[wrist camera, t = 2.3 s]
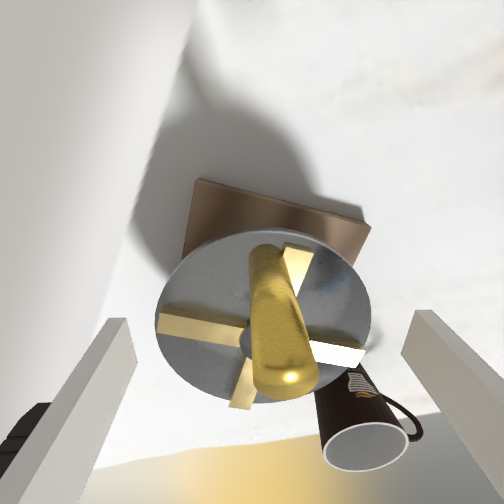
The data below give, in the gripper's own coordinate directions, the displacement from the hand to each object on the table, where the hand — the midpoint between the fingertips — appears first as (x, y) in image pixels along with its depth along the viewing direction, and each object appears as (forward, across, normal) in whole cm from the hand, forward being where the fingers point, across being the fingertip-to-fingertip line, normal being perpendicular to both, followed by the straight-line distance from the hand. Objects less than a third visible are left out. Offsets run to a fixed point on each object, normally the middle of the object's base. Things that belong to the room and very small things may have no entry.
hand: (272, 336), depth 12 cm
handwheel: (+9, 0, -7) cm, 12 cm away
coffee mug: (+16, +12, -22) cm, 29 cm away
